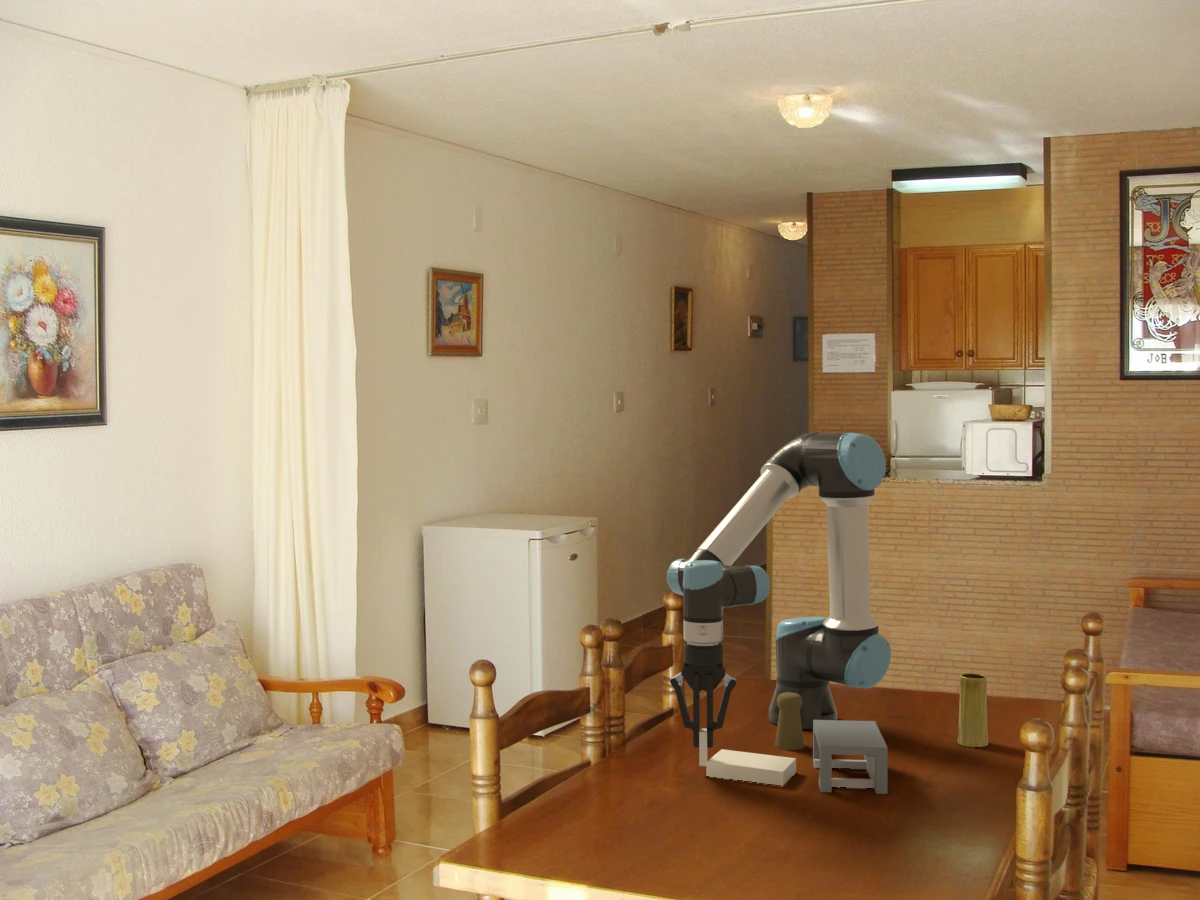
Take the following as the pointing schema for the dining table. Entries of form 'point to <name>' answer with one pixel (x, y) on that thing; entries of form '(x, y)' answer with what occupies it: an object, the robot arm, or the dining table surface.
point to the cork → (789, 722)
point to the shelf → (850, 753)
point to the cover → (751, 767)
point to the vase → (973, 710)
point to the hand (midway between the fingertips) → (703, 763)
